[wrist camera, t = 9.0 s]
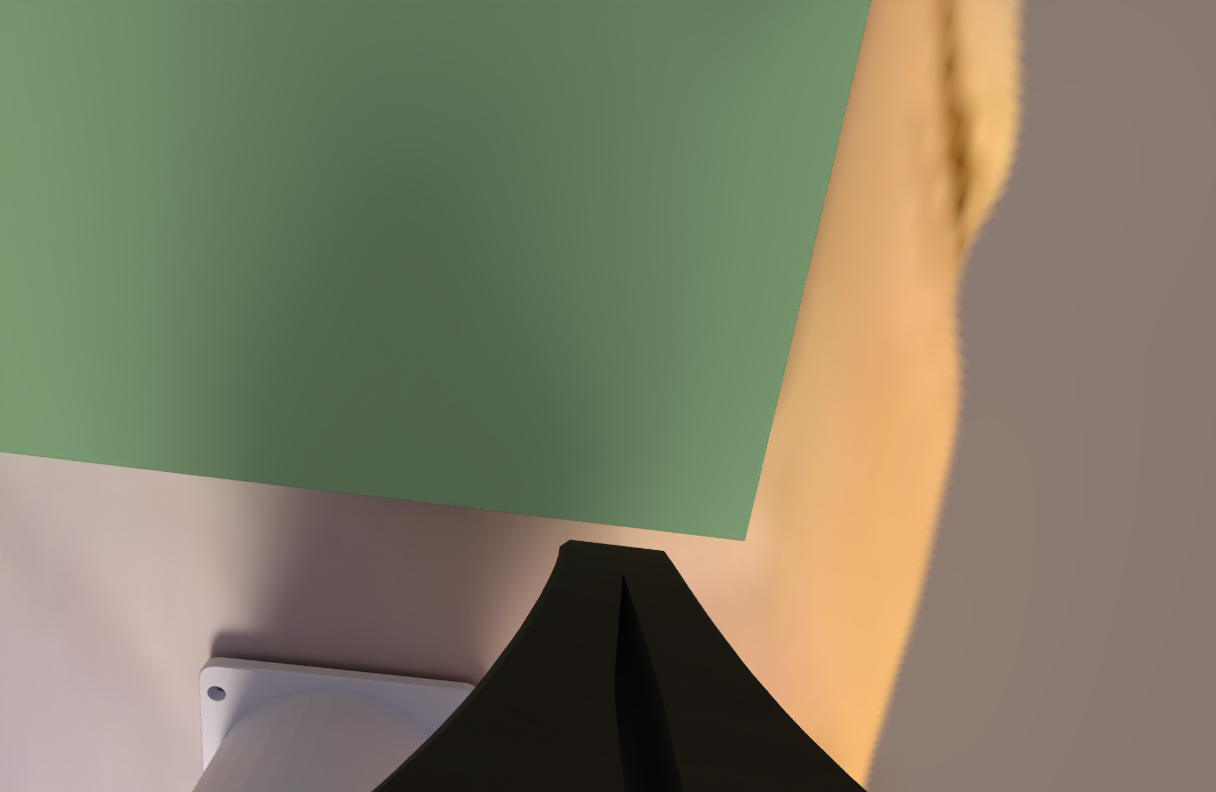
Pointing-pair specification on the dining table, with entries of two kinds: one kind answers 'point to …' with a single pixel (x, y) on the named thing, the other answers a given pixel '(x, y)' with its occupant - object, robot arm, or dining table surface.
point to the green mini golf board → (417, 243)
